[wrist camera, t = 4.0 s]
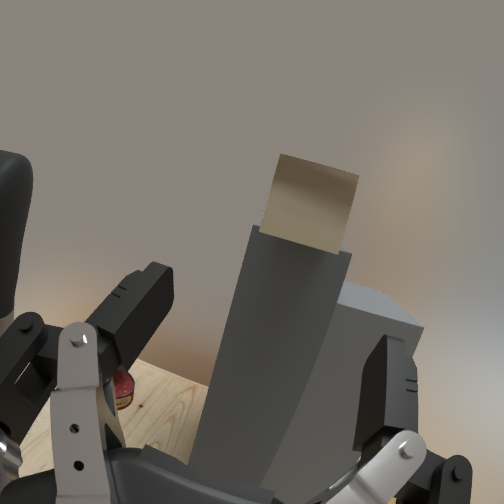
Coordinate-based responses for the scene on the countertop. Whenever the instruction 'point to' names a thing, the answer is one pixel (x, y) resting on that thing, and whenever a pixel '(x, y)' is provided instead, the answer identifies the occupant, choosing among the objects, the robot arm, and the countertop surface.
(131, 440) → the countertop surface
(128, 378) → the canned food
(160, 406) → the countertop surface
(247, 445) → the block
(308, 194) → the birch bar
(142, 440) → the countertop surface
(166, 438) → the countertop surface
